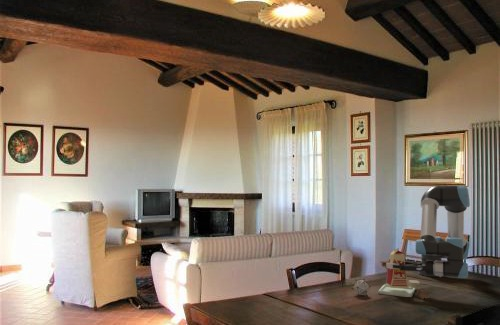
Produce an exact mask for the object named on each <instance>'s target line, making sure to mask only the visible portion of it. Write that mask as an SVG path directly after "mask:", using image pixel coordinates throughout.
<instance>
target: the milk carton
mask: <svg viewBox="0 0 500 325" xmlns="http://www.w3.org/2000/svg"><path fill="white" fill-rule="evenodd" d="M392 250H393V251H391V253H389V258H388V263H396V264H399V263H401V264H405V260H406V259H405V253H404V252H402V251H401V250H400V248H399V247H398V248H393V249H392ZM386 271H387V272H386V273H387V274H386V279H387V285H389V286H390V288H409V286H408V278H407V277H408V276H407V271H404V270H402V271H401V270H400V269H390V268H387V270H386Z"/></svg>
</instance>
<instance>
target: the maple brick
mask: <svg viewBox="0 0 500 325" xmlns="http://www.w3.org/2000/svg"><path fill="white" fill-rule="evenodd" d="M407 281H408V286H409V287H414V288H415V291H417V289H421V282H420V281H419V280H410V279H409V280H408V279H407Z"/></svg>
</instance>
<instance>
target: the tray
mask: <svg viewBox="0 0 500 325" xmlns="http://www.w3.org/2000/svg"><path fill="white" fill-rule="evenodd" d="M415 292H416V290H415V288H414V287H409V288H390V286H389V285H387V284H386V283H384V284H383V285H382V286H381V287H380V288H379V289H378V294H379V295H380V294H381V295H385V296H386V295H387V296H388V295H390V296H394V297H395V296H397V297H404V298H412V297H413V295H414V293H415Z"/></svg>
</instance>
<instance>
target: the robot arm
mask: <svg viewBox="0 0 500 325" xmlns="http://www.w3.org/2000/svg"><path fill="white" fill-rule="evenodd" d="M470 202H471V201H470V194H469V189H468V187H467V186H465V185H458V184H457V185H441V184H439V185H434V186H431V187H429V188H428V189H427V190H426V191H425V192H424V194H422V197H421V199H420V207H421V208H422V209H421V223H420V224H421V225H420V238H419V239H416V240H415V253H416V254H418V255H421V261H413V260H407V259H405V264H401V263H399V264H396V263H389V262H386V263H385V264H386V265H385V266H386V267H385V268H386V269H388V268H390V269H400V270H401V271H402V270H404V271H406V272H407V271H408V272H418V275H421V276H425V277H434V278H442V277H445V278H446V277H447V278H454V279H467V278H468V276H469V264H468V262H464V261H465V260H467V259H468V256H469V252H470V251H469V250H470V242H469V241H468V240H467V239H466V237H465V236H464V235H465V231H464V230H465V229H464V227H465V225H464V223H465V218H464V217H465V211H466V210H467V208H469V207H470V206H471V205H470V204H471V203H470ZM439 207H444V210H446V211H447V236H446V237H445V239H444V238H442V236H437V218H438V216H437V215H438V213H437V212H438V209H439ZM442 259H446V261H445V260H442Z"/></svg>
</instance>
